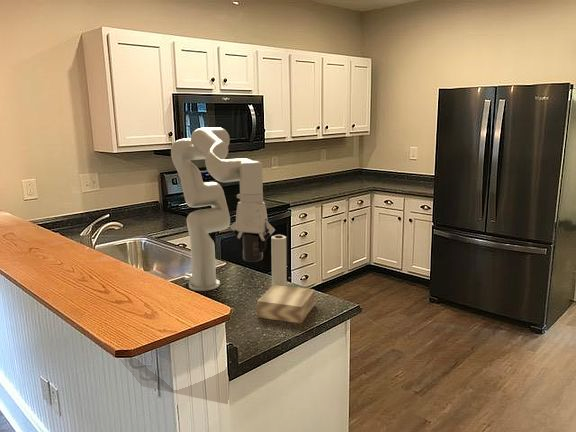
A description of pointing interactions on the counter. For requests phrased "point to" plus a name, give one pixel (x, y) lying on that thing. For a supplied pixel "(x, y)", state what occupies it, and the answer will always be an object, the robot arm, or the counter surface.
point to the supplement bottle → (251, 247)
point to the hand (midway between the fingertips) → (252, 249)
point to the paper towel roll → (279, 260)
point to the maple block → (286, 303)
